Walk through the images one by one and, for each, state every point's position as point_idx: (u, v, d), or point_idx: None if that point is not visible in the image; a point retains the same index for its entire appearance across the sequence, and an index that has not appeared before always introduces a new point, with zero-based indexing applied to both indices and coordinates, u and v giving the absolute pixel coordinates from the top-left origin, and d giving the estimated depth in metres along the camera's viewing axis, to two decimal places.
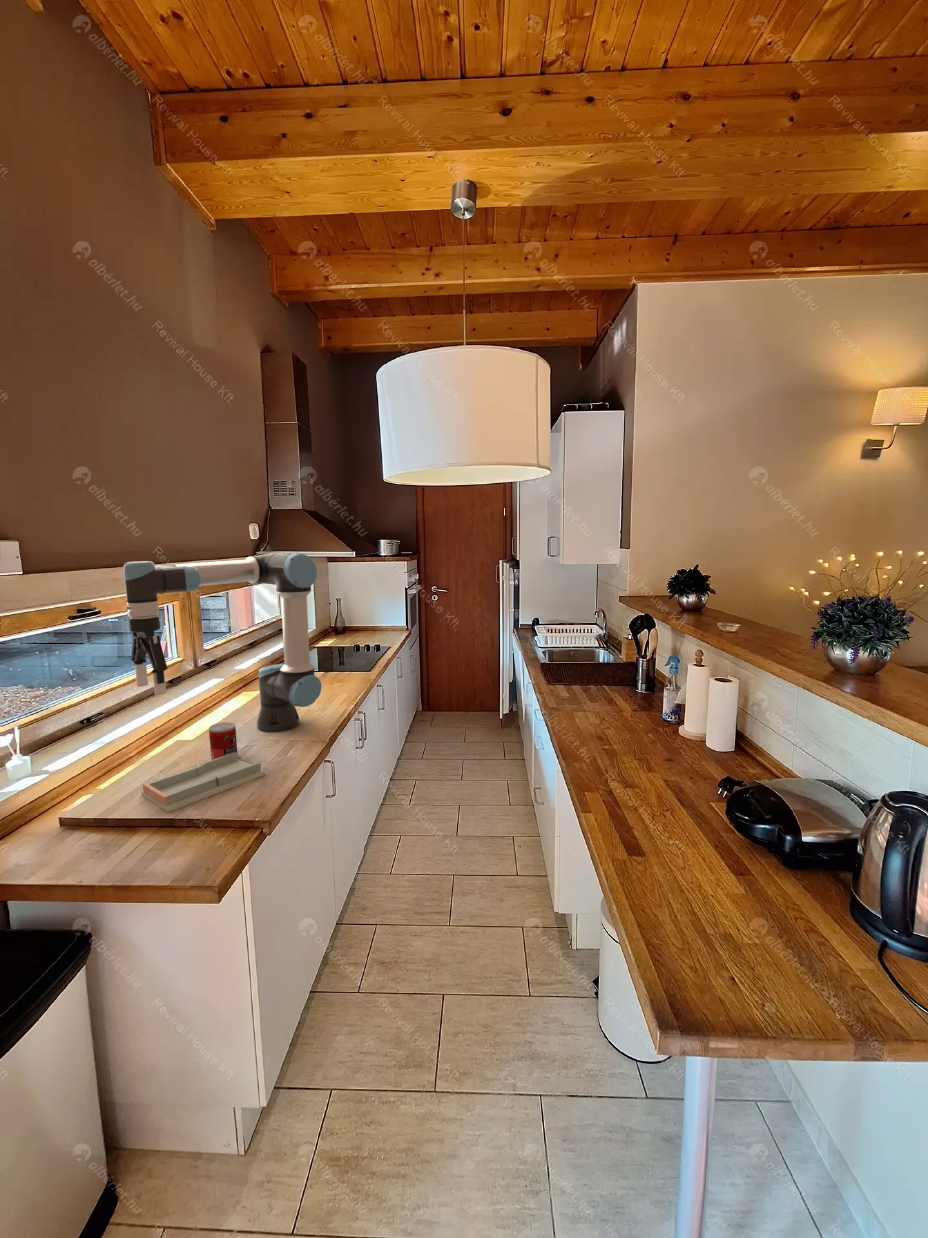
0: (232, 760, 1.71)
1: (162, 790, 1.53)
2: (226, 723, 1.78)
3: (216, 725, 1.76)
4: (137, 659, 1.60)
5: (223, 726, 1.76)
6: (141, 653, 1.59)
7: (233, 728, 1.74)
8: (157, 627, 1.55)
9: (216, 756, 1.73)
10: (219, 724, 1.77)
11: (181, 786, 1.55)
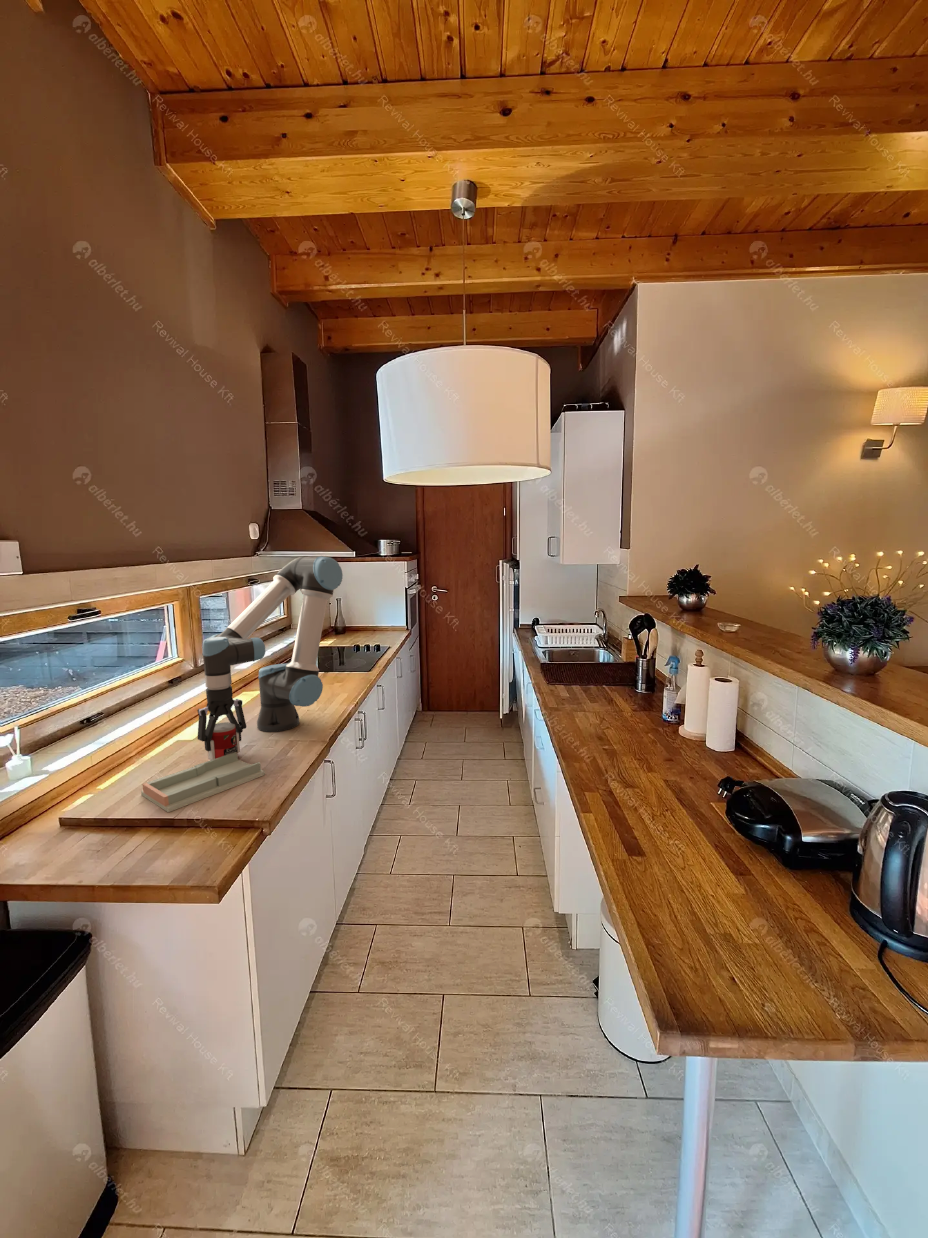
0: (232, 760, 1.71)
1: (162, 790, 1.53)
2: (226, 723, 1.78)
3: (216, 725, 1.76)
4: None
5: (223, 726, 1.76)
6: (230, 720, 1.77)
7: (233, 728, 1.74)
8: (214, 699, 1.70)
9: (216, 756, 1.73)
10: (219, 724, 1.77)
11: (181, 786, 1.55)
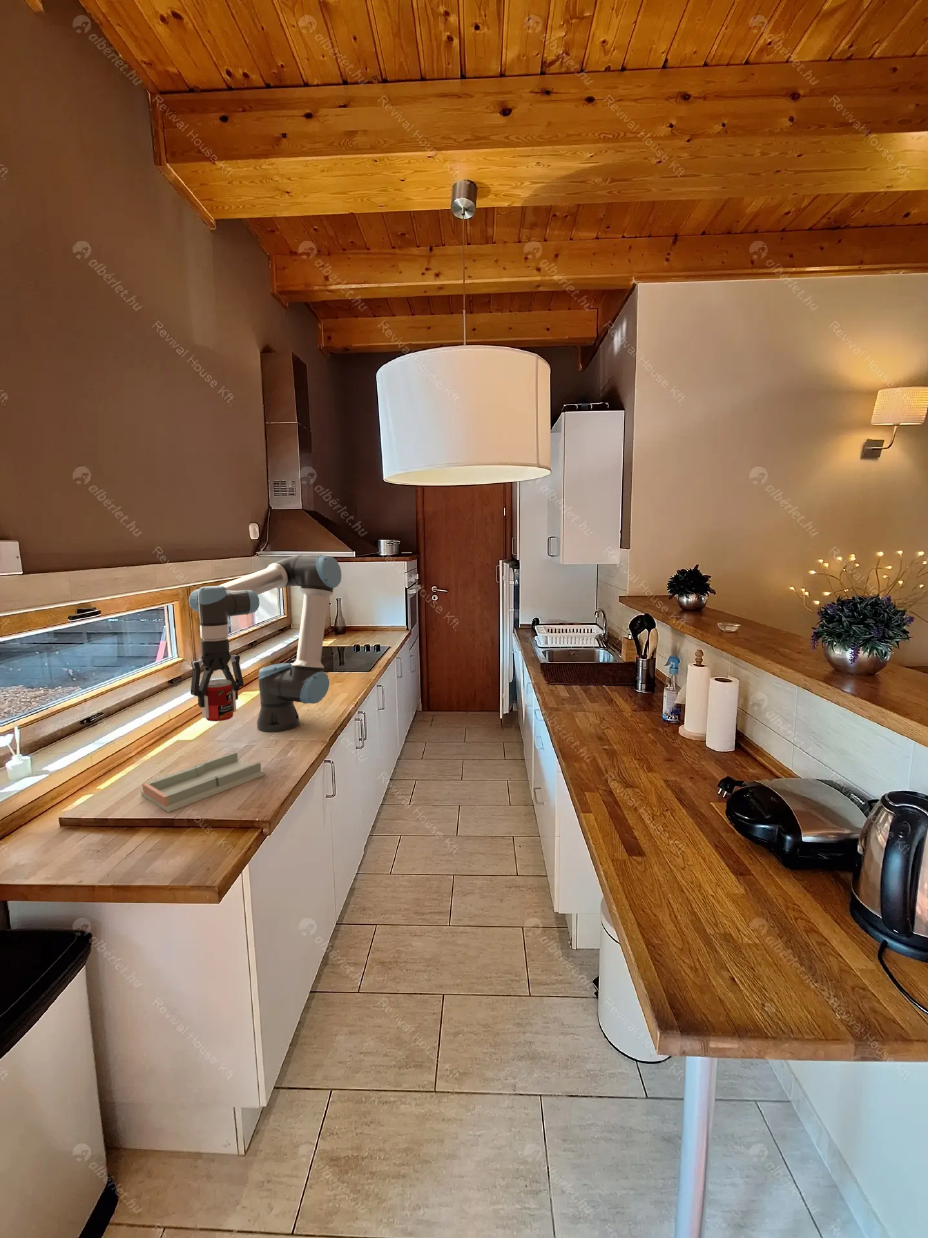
0: (232, 760, 1.71)
1: (162, 790, 1.53)
2: (222, 680, 1.67)
3: (211, 681, 1.65)
4: None
5: (219, 682, 1.65)
6: (226, 676, 1.66)
7: (229, 684, 1.63)
8: (208, 651, 1.59)
9: (210, 713, 1.61)
10: (215, 680, 1.66)
11: (181, 786, 1.55)
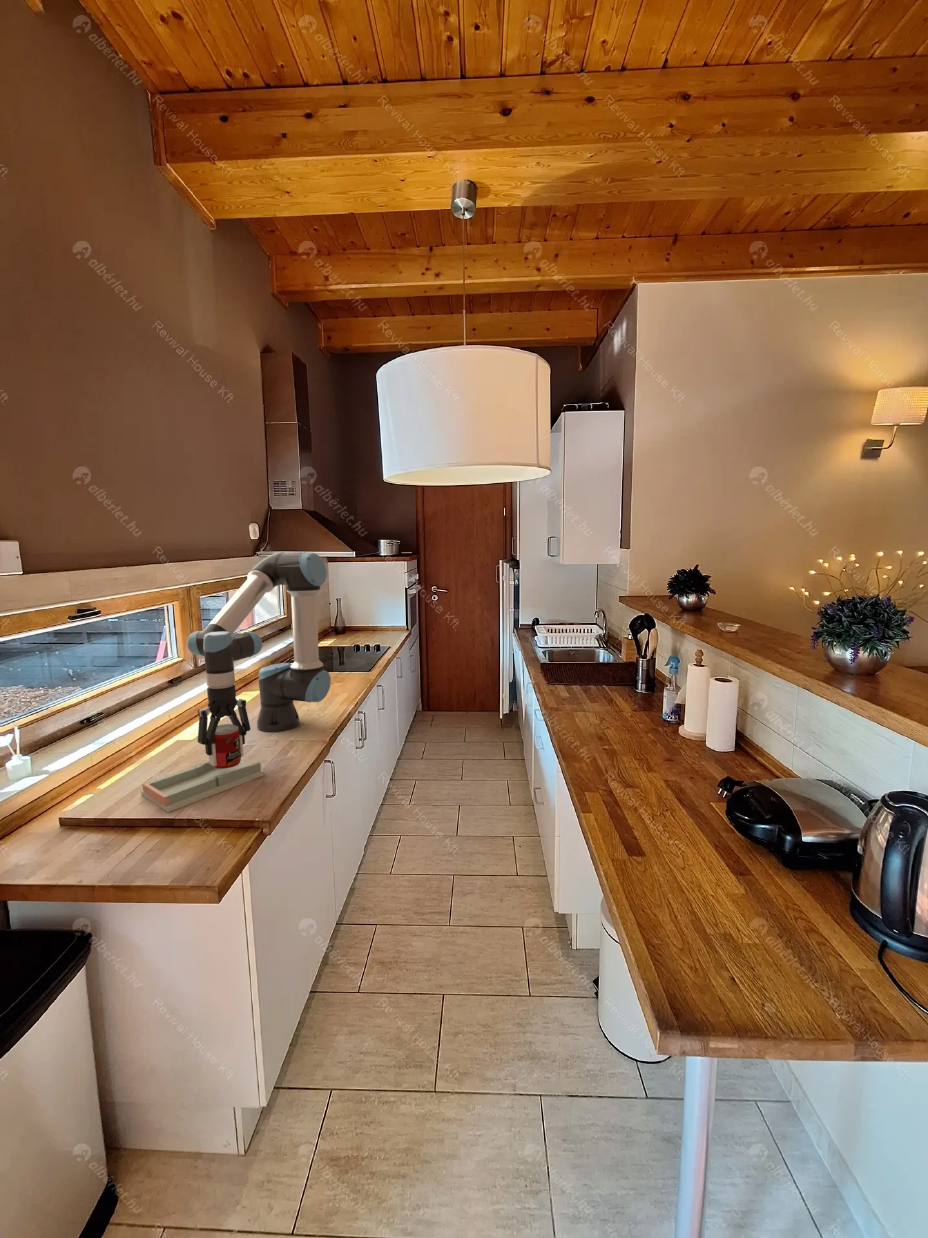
0: None
1: (162, 790, 1.53)
2: (228, 725, 1.65)
3: (218, 727, 1.63)
4: None
5: (225, 728, 1.63)
6: (233, 721, 1.64)
7: (236, 730, 1.61)
8: (215, 699, 1.57)
9: (218, 760, 1.59)
10: (221, 726, 1.64)
11: (181, 786, 1.55)
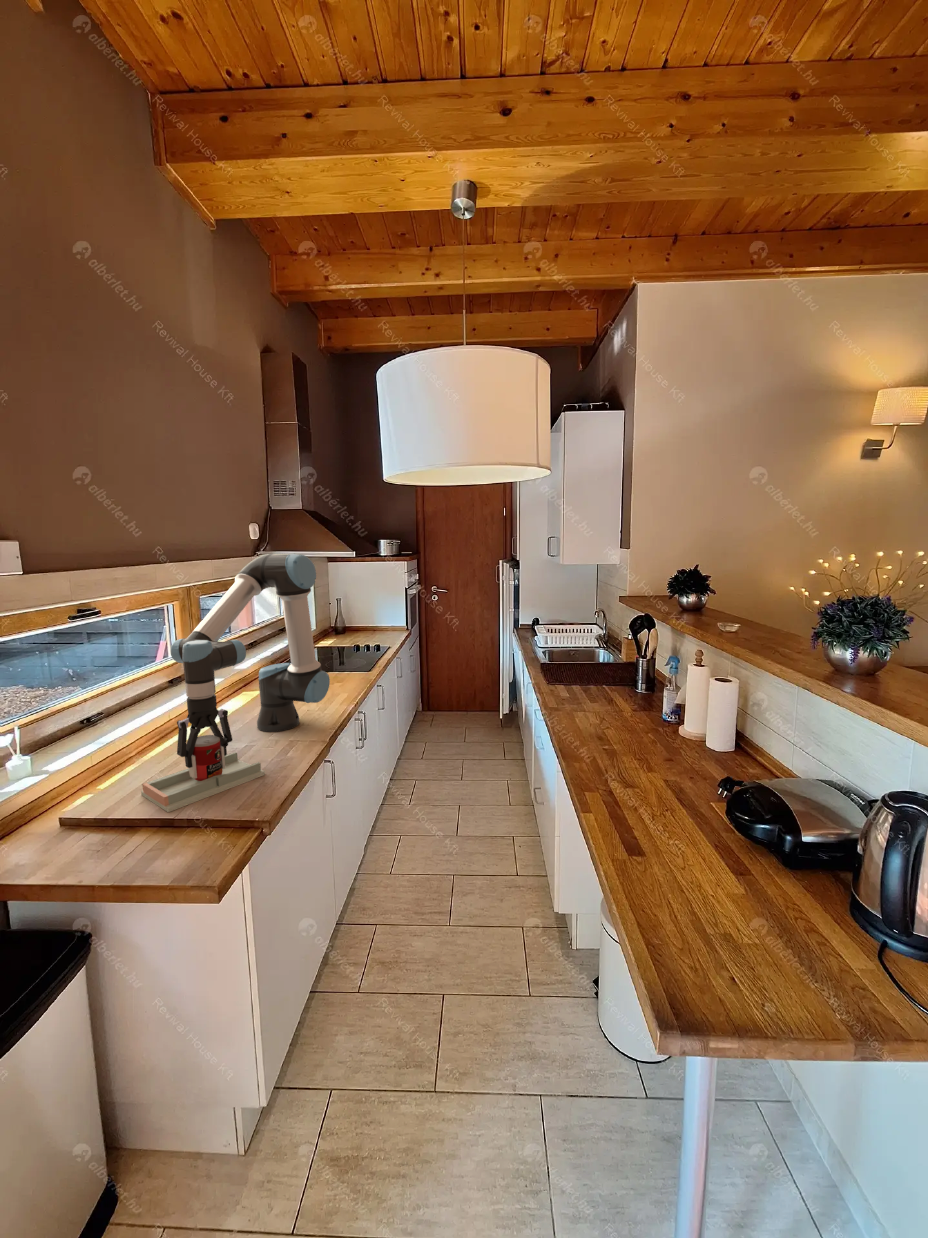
0: (232, 760, 1.71)
1: (162, 790, 1.53)
2: (210, 736, 1.60)
3: (198, 738, 1.59)
4: None
5: (206, 739, 1.58)
6: (214, 732, 1.59)
7: (217, 741, 1.57)
8: (195, 710, 1.52)
9: (198, 773, 1.55)
10: (202, 737, 1.60)
11: (181, 786, 1.55)
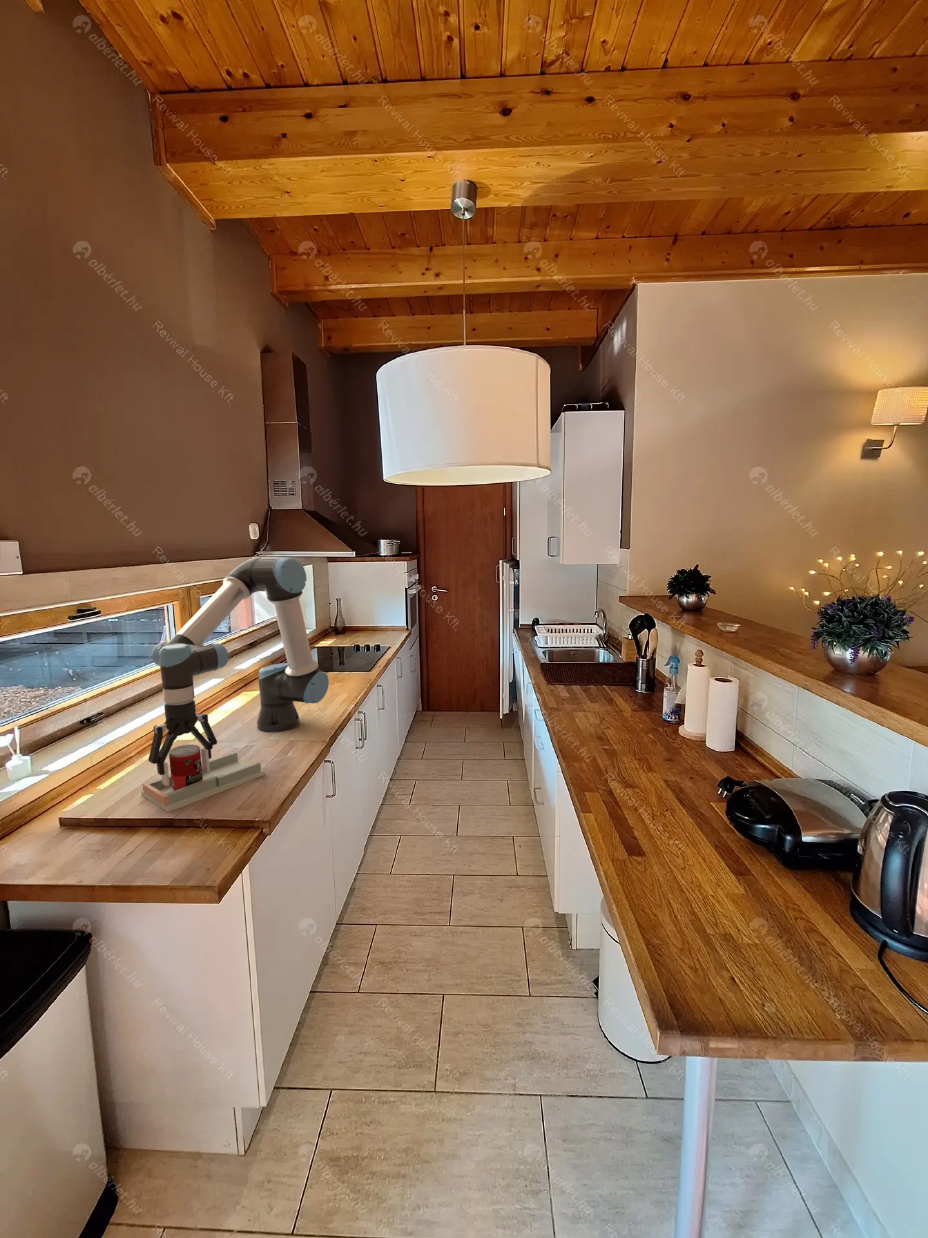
0: (232, 760, 1.71)
1: (162, 790, 1.53)
2: (190, 745, 1.56)
3: (178, 748, 1.54)
4: (200, 742, 1.57)
5: (186, 749, 1.54)
6: (196, 737, 1.55)
7: (197, 752, 1.52)
8: (173, 716, 1.47)
9: (177, 784, 1.51)
10: (182, 747, 1.55)
11: None
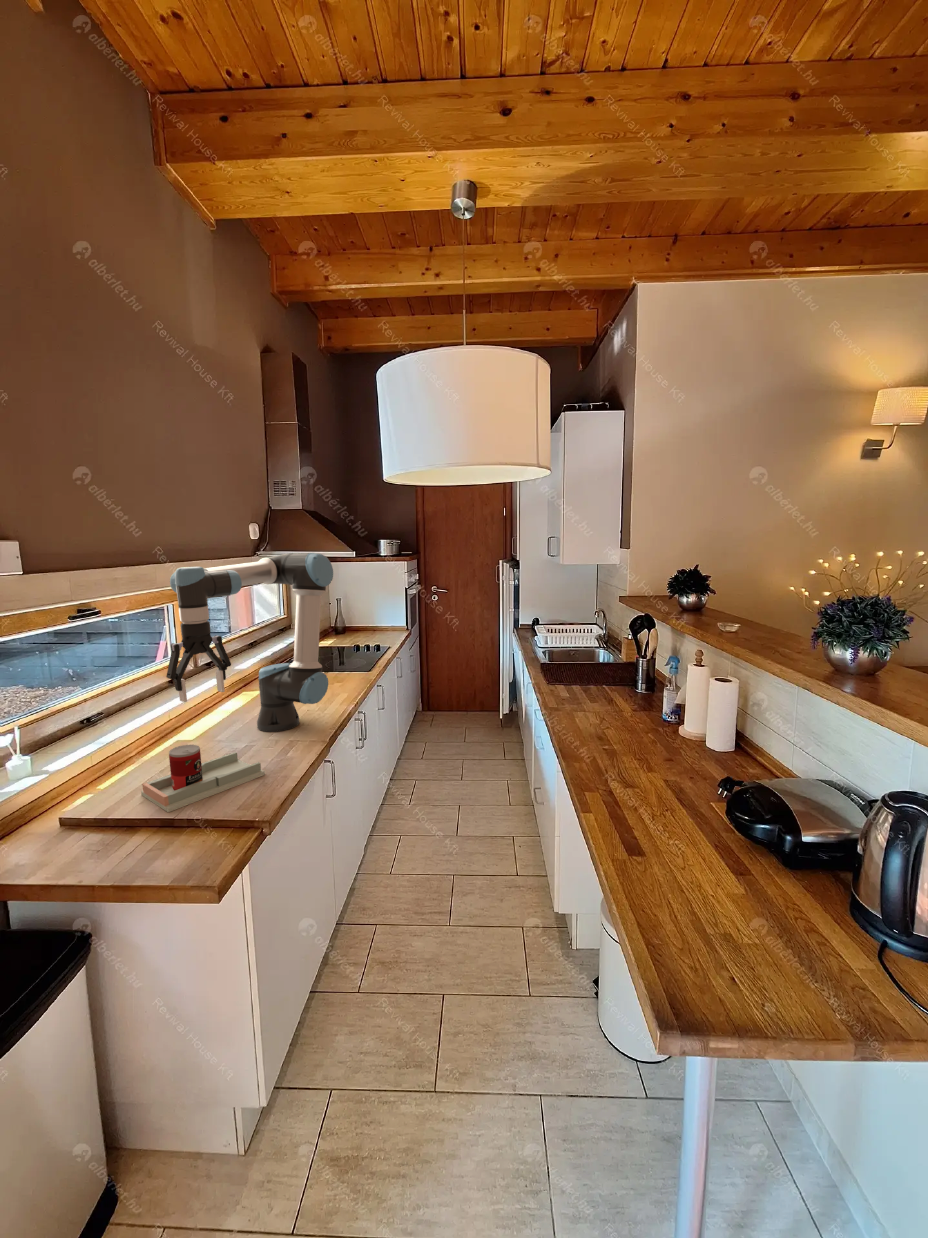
0: (232, 760, 1.71)
1: (162, 790, 1.53)
2: (190, 745, 1.56)
3: (178, 748, 1.54)
4: (215, 663, 1.63)
5: (186, 749, 1.54)
6: (211, 658, 1.62)
7: (197, 752, 1.52)
8: (189, 634, 1.54)
9: (177, 784, 1.51)
10: (181, 747, 1.55)
11: None
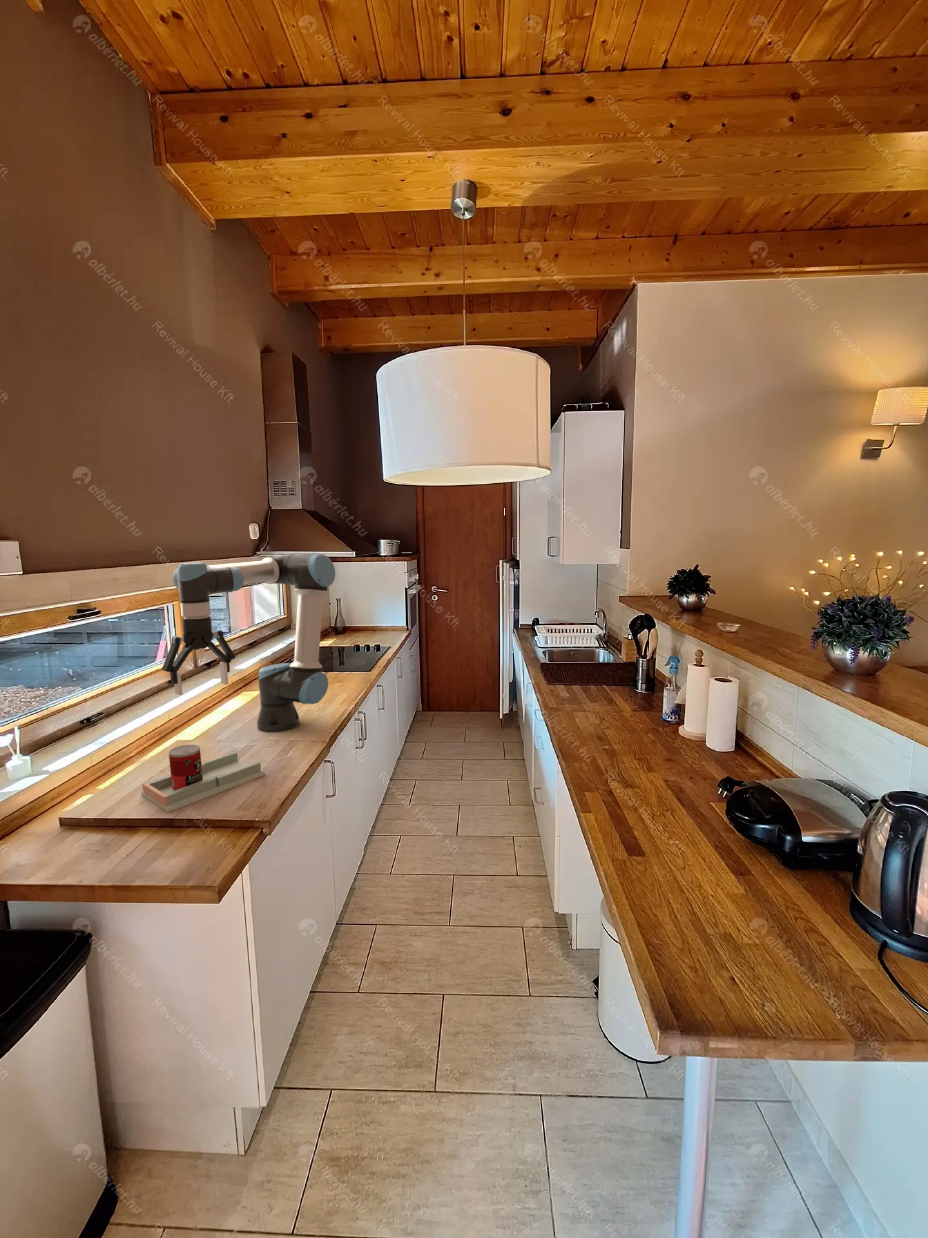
0: (232, 760, 1.71)
1: (162, 790, 1.53)
2: (190, 745, 1.56)
3: (178, 748, 1.54)
4: None
5: (186, 749, 1.54)
6: (214, 652, 1.63)
7: (197, 752, 1.52)
8: (190, 629, 1.54)
9: (177, 784, 1.51)
10: (181, 747, 1.55)
11: None
